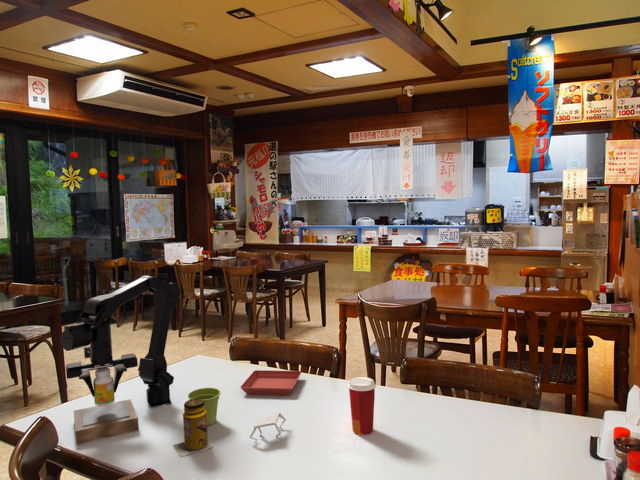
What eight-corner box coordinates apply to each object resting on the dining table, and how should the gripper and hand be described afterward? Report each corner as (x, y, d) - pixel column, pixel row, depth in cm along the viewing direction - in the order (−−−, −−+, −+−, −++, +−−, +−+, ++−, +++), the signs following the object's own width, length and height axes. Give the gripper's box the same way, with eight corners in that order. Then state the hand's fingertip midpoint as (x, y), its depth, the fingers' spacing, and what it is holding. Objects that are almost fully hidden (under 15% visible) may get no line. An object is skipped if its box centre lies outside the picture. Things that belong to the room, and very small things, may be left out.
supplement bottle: (90, 405, 142) (88, 372, 141) (105, 398, 147) (102, 366, 146) (104, 407, 140) (102, 373, 139) (118, 400, 145) (116, 367, 144)
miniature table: (276, 448, 127) (275, 430, 127) (247, 444, 130) (247, 426, 130) (294, 428, 139) (294, 411, 138) (268, 424, 142) (267, 408, 141)
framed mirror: (131, 410, 154) (130, 398, 154) (138, 430, 140) (137, 416, 140) (74, 422, 147) (73, 409, 147) (76, 444, 133) (75, 430, 132)
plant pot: (228, 418, 147) (227, 389, 146) (208, 431, 138) (207, 401, 138) (203, 413, 151) (201, 385, 150) (182, 426, 142) (181, 397, 142)
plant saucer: (254, 378, 182) (254, 369, 182) (302, 379, 179) (302, 370, 179) (239, 397, 164) (239, 387, 164) (292, 398, 162) (292, 388, 161)
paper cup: (379, 426, 138) (378, 377, 137) (373, 438, 131) (372, 387, 130) (352, 423, 141) (351, 375, 140) (345, 435, 134) (343, 384, 133)
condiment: (213, 447, 129) (211, 403, 128) (181, 457, 124) (179, 411, 124) (203, 437, 135) (201, 394, 134) (172, 446, 130) (170, 402, 130)
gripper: (131, 330, 153) (134, 379, 155) (64, 340, 145) (67, 392, 146) (136, 338, 144) (139, 390, 145) (64, 349, 135) (68, 404, 136)
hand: (104, 394), depth 143 cm, fingers closed on supplement bottle, 5 cm apart
